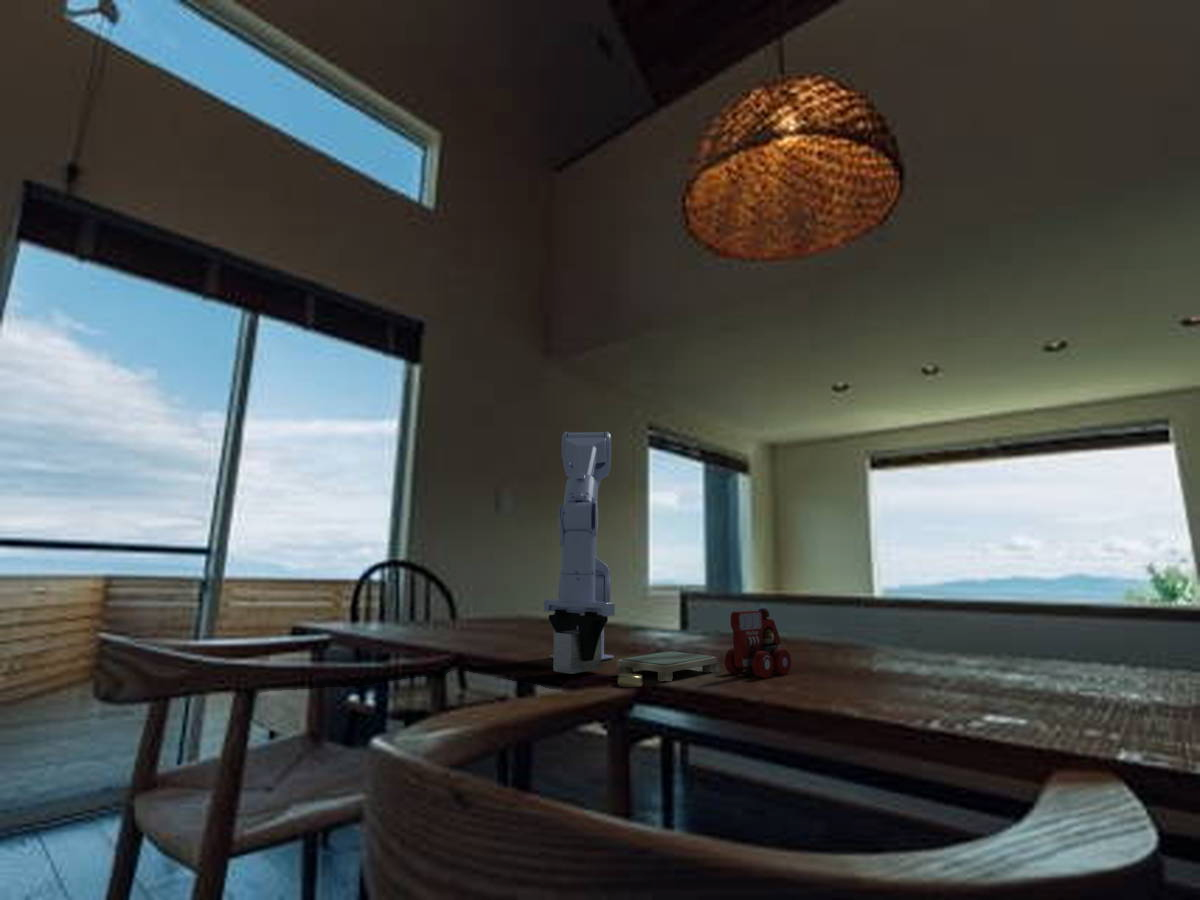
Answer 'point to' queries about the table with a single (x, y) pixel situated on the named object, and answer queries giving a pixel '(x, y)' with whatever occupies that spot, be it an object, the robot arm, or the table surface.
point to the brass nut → (630, 680)
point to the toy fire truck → (756, 645)
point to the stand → (667, 663)
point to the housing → (573, 653)
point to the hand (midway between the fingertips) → (577, 659)
